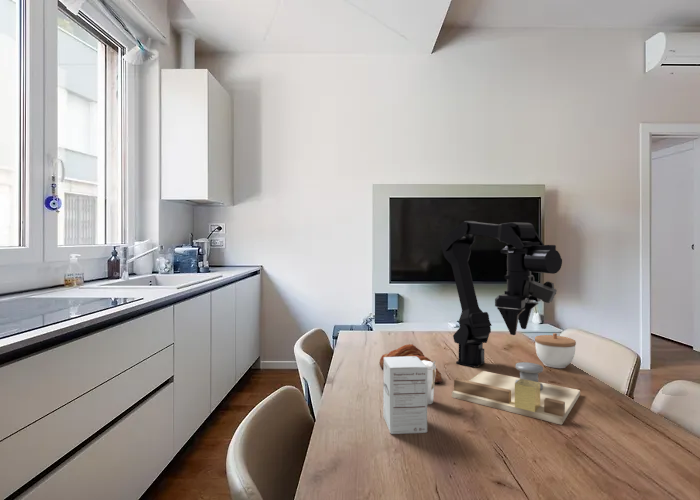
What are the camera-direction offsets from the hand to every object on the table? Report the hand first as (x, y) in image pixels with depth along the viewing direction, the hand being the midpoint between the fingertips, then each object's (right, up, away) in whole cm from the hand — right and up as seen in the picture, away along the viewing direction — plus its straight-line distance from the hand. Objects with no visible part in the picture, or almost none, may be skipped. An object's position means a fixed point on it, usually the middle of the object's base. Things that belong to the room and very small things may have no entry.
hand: (518, 331), depth 103 cm
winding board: (-5, -13, -10) cm, 17 cm away
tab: (-6, -12, -19) cm, 23 cm away
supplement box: (-33, -13, -25) cm, 43 cm away
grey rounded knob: (0, -12, -7) cm, 14 cm away
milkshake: (-26, -13, -13) cm, 32 cm away
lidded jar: (+17, -13, +15) cm, 26 cm away
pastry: (-27, -13, +7) cm, 31 cm away
